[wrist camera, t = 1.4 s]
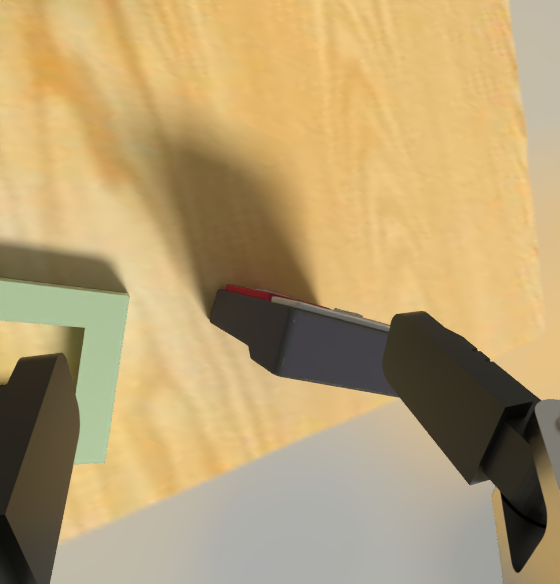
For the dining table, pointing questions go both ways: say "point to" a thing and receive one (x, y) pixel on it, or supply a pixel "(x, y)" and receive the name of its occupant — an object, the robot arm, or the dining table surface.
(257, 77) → the dining table surface
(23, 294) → the socket block
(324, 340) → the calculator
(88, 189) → the dining table surface
